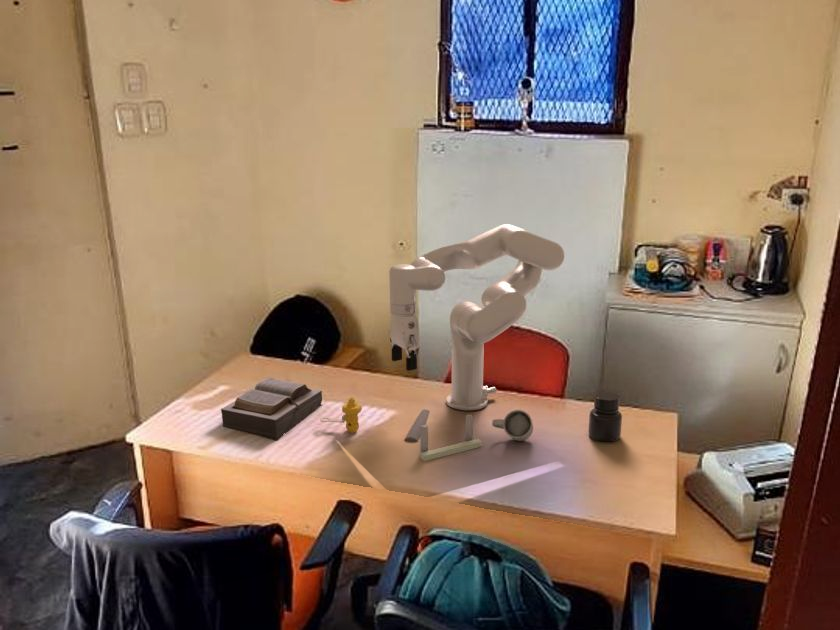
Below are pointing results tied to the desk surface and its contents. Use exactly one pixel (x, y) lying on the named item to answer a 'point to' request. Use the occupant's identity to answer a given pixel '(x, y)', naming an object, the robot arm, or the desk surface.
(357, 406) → the pressure relief valve
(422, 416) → the half round rod
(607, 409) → the ink bottle
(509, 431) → the ceramic mug
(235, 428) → the bible
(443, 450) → the peg rack
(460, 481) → the desk surface
